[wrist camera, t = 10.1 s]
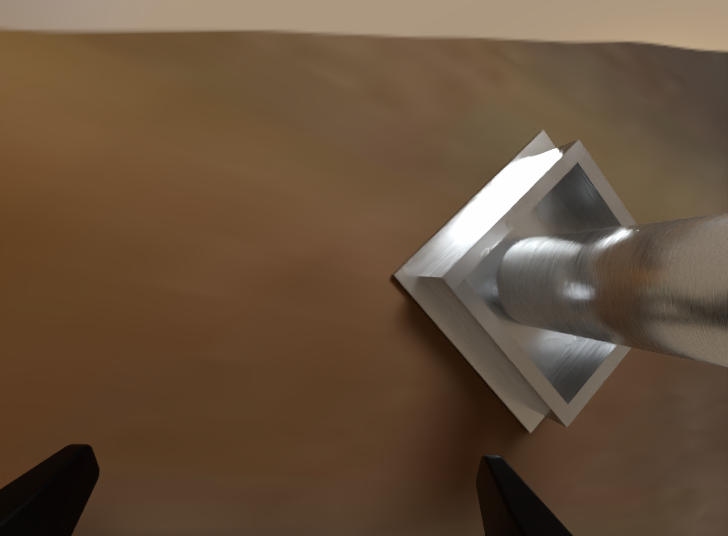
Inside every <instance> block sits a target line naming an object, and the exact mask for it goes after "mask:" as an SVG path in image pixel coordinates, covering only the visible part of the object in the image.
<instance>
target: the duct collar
mask: <svg viewBox="0 0 728 536" xmlns="http://www.w3.org/2000/svg"><path fill="white" fill-rule="evenodd" d="M628 225H636V223H635V221H634V220H633V218H632V217H631V215H630V214H629V212H628V211H627V209H626V208H625V207H624V205H623V204H622V202H621V201H620V199H619V198H618V196H617V195H616V193H615V192H614V190H613V189H612V187H611V186H610V184H609V183H608V182H607V180H606V179H605V177H604V176H603V174H602V173H601V171H600V170H599V168H598V167H597V165H596V164H595V162H594V161H593V160H592V158H591V157H590V155H589V154H588V152H587V151H586V149H585V148H584V146H583V145H582V143H581V142H580V140H579V139H578V140H576V141H573V142H571V143H568V144H566V145H563V146H561V147H558V148H556V147H555V146H554V144H553V143H552V142H551V140H550V139H549V137H548V136H547V134H546V133H545V132H544V130H542V131H540V132H539V133H538V134H537V135H536V136H535V137H534V138H533V139H532V140H531V141H530V142H529V143H528V144H527V145H526V146H524V147H523V148H522V149H521V150H520V151H519V152H518V153H517V154H516V155H515V156H514V157H513V158H512V159H511V160H510V161H509V162H508V163H507V164H506V165H505V166H504V167H503V168H502V169H501V170H500V171H499V172H498V173H497V174H496V175H495V176H494V177H492V178H491V179H490V180H489V181H488V182H487V183H486V184H485V185H484V186H483V187H482V188H481V189H480V190H479V191H478V192H477V193H476V194H475V195H474V196H473V197H472V198H471V199H470V200H469V201H468V202H467V203H466V204H465V205H464V206H463V207H462V208H460V209H459V210H458V211H457V212H456V213H455V214H454V215H453V216H452V217H451V218H450V219H449V220H448V221H447V222H446V223H445V224H444V225H443V226H442V227H441V228H440V229H439V230H438V231H437V232H436V233H435V234H434V235H433V236H432V237H431V238H430V239H429V240H427V241H426V242H425V243H424V244H423V245H422V246H421V247H420V248H419V249H418V250H417V251H416V252H415V253H414V254H413V255H412V256H411V257H410V258H409V259H408V260H407V261H406V262H405V263H404V264H403V265H402V266H401V267H400V268H399V269H398V270H397V271H395V272H394V273H393V274H392V275H393V276H394V278H395V279H396V280H397V281H398V282H399V283H400V285H401V286H402V287H403V288H404V289H405V290H406V292H407V293H408V294H409V295H410V296H411V297H412V298H413V300H414V301H415V302H416V303H417V304H418V305H419V307H420V308H421V309H422V310H423V311H424V312H425V314H426V315H427V316H428V317H429V318H430V319H431V320H432V322H433V323H434V324H435V325H436V326H437V327H438V329H439V330H440V331H441V332H442V333H443V334H444V336H445V337H446V338H447V339H448V340H449V341H450V342H451V344H452V345H453V346H454V347H455V348H456V349H457V351H458V352H459V353H460V354H461V355H462V356H463V358H464V359H465V360H466V361H467V362H468V363H469V364H470V366H471V367H472V368H473V369H474V370H475V371H476V373H477V374H478V375H479V376H480V377H481V378H482V380H483V381H484V382H485V383H486V384H487V385H488V386H489V388H490V389H491V390H492V391H493V392H494V393H495V395H496V396H497V397H498V398H499V399H500V400H501V402H502V403H503V404H504V405H505V406H506V407H507V408H508V410H509V411H510V412H511V413H512V414H513V415H514V417H515V418H516V419H517V420H518V421H519V422H520V423H521V425H522V426H523V427H524V428H525V429H526V430H527V431H528V432H529V433H531V432H532V431H533V430H534V429H535V428H536V426H537V425H538V424H539V423H540V422H541V420H542V419H543V418H544V417H545V416H546V417H547V418H549V419H551V420H553V421H555V422H557V423H559V424H561V425H563V426H565V427H566V428H567V427H568V426H569V425H570V423H571V422H572V421H573V420H574V418H575V417H576V416H577V415H578V413H579V412H580V411H581V410H582V408H583V407H584V406H585V405H586V404H587V402H588V401H589V400H590V399H591V397H592V396H593V395H594V394H595V392H596V391H597V390H598V389H599V387H600V386H601V385H602V384H603V382H604V381H605V380H606V379H607V377H608V376H609V375H610V374H611V372H612V371H613V370H614V369H615V368H616V366H617V365H618V364H619V363H620V361H621V360H622V359H623V358H624V356H625V355H626V354H627V353H628V351H629V350H630V349H631V347H626V346H622V345H617V344H612V343H607V342H602V341H597V340H593V339H588V338H583V337H578V336H573V335H569V334H564V333H559V332H554V331H549V330H544V329H540V328H535V327H530V326H526V325H523V324H521V323H519V322H517V321H515V320H514V319H513V318H512V317H511V316H510V315H509V314H508V313H507V312H506V310H505V309H504V307H503V305H502V303H501V301H500V298H499V295H498V289H497V275H498V270H499V266H500V264H501V261H502V259H503V257H504V255H505V254H506V253H507V251H508V250H509V249H510V248H511V247H512V246H513V245H514V244H516V243H517V242H519V241H521V240H523V239H526V238H530V237H538V236H546V235H554V234H563V233H571V232H579V231H587V230H595V229H604V228H612V227H620V226H628Z"/></svg>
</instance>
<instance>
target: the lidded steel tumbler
mask: <svg viewBox="0 0 728 536" xmlns="http://www.w3.org/2000/svg"><path fill="white" fill-rule="evenodd" d="M497 289H498V295H499V298H500V301H501V303H502V305H503V307H504V309H505V310H506V312H507V313H508V314H509V315H510V316H511V317H512V318H513V319H514V320H515V321H517V322H519V323H521V324H523V325H526V326H530V327H535V328H540V329H544V330H549V331H554V332H559V333H564V334H569V335H573V336H578V337H583V338H588V339H593V340H597V341H602V342H607V343H612V344H617V345H622V346H626V347H631V348H636V349H641V350H646V351H650V352H655V353H660V354H665V355H670V356H675V357H679V358H684V359H689V360H694V361H699V362H703V363H708V364H713V365H718V366H723V367H728V213H726V214H718V215H710V216H702V217H694V218H685V219H677V220H669V221H661V222H653V223H644V224H636V225H628V226H620V227H612V228H604V229H595V230H587V231H579V232H571V233H563V234H554V235H546V236H538V237H530V238H526V239H523V240H521V241H519V242H517V243H516V244H514V245H513V246H512V247H511V248H510V249H509V250H508V251H507V253H506V254H505V255H504V257H503V259H502V261H501V264H500V266H499V270H498V275H497Z"/></svg>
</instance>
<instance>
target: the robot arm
mask: <svg viewBox="0 0 728 536" xmlns="http://www.w3.org/2000/svg"><path fill="white" fill-rule="evenodd" d="M98 477H99V466H98V463H97V460H96V457H95V455H94V452H93V449H92V447H91V446H90V445H88V444H71V445H68V446H66V447H64V448H63V449H61V450H60V451H58V452H57V453H55V454H54V455H52V456H51V457H49V458H48V459H46V460H44V461H43V462H41V463H40V464H38V465H37V466H35V467H34V468H32V469H31V470H29V471H28V472H26V473H25V474H23V475H22V476H20V477H18V478H17V479H15V480H14V481H12V482H11V483H9V484H8V485H6V486H5V487H3V488H2V489H0V536H71V535H72V533H73V531H74V529H75V527H76V525H77V523H78V521H79V518H80V516H81V514H82V512H83V510H84V508H85V506H86V504H87V501H88V499H89V497H90V495H91V493H92V491H93V489H94V487H95V485H96V482H97V480H98ZM476 487H477V493H478V499H479V504H480V510H481V515H482V520H483V526H484V531H485V536H573V535H572V534H571V533H570V532H569V531H568V530H567V529H566V527H565V526H564V525H563V524H562V523H561V522H560V521H559V520H558V519H557V517H556V516H555V515H554V514H553V513H552V512H551V511H550V510H549V508H548V507H547V506H546V505H545V504H544V503H543V502H542V501H541V500H540V498H539V497H538V496H537V495H536V494H535V493H534V492H533V491H532V490H531V488H530V487H529V486H528V485H527V484H526V483H525V482H524V481H523V480H522V478H521V477H520V476H519V475H518V474H517V473H516V472H515V471H514V470H513V468H512V467H511V466H510V465H509V464H508V463H507V462H506V461H505V460H504V458H503V457H501V456H499V455H483V456H482V458H481V461H480V465H479V470H478V474H477V478H476Z"/></svg>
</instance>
